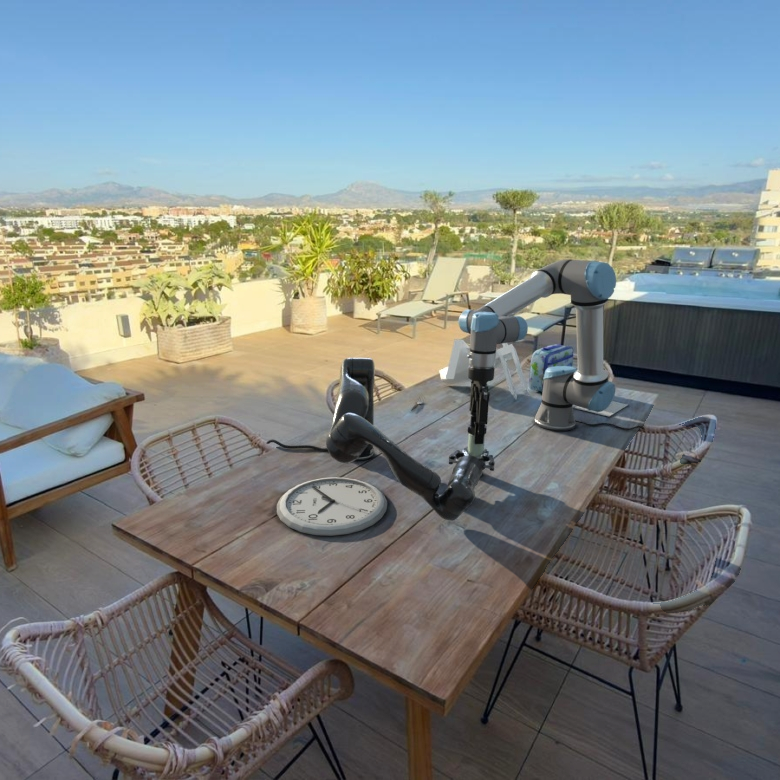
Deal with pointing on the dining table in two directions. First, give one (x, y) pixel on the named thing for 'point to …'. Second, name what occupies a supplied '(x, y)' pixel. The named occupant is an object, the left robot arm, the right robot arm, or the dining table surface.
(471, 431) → the lid
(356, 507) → the wall clock
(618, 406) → the invitation card
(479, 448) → the jar
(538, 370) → the lunch box
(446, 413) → the dining table surface
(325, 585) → the dining table surface
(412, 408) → the fork
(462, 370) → the white plastic object
